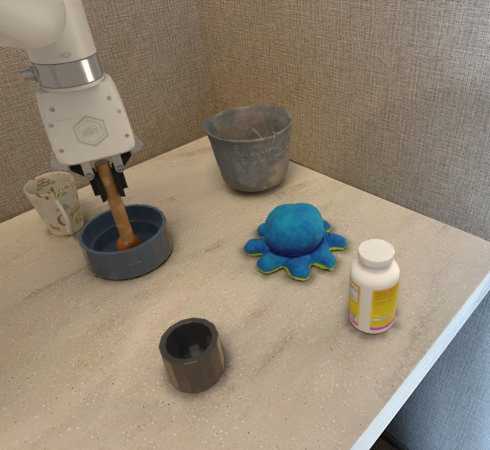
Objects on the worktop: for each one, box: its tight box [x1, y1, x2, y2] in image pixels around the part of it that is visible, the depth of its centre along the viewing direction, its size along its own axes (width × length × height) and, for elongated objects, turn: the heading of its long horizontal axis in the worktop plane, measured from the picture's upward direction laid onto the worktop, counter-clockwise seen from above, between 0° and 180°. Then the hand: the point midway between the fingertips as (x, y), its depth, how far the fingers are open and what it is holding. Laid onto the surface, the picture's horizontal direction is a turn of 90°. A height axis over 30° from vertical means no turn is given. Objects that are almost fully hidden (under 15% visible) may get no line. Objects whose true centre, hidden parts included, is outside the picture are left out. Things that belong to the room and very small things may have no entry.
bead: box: [116, 234, 141, 251], centre depth 76 cm, size 4×4×4 cm
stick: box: [93, 158, 135, 243], centre depth 67 cm, size 2×2×14 cm
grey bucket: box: [202, 104, 295, 193], centre depth 91 cm, size 18×18×15 cm
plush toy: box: [243, 202, 348, 282], centre depth 76 cm, size 17×17×8 cm
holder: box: [158, 317, 225, 394], centre depth 57 cm, size 7×7×6 cm
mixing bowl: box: [77, 203, 173, 281], centre depth 77 cm, size 14×14×6 cm
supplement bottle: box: [348, 238, 401, 335], centre depth 61 cm, size 7×7×13 cm
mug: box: [23, 171, 85, 237], centre depth 82 cm, size 8×13×10 cm, turn 40°
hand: (112, 194), depth 66 cm, fingers closed on stick, 2 cm apart
